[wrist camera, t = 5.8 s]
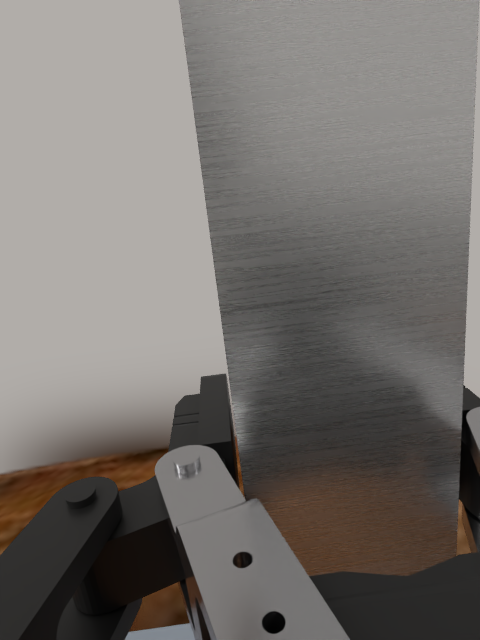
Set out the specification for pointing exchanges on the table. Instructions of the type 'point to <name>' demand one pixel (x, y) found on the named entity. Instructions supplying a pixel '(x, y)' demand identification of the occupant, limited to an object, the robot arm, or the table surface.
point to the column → (342, 262)
